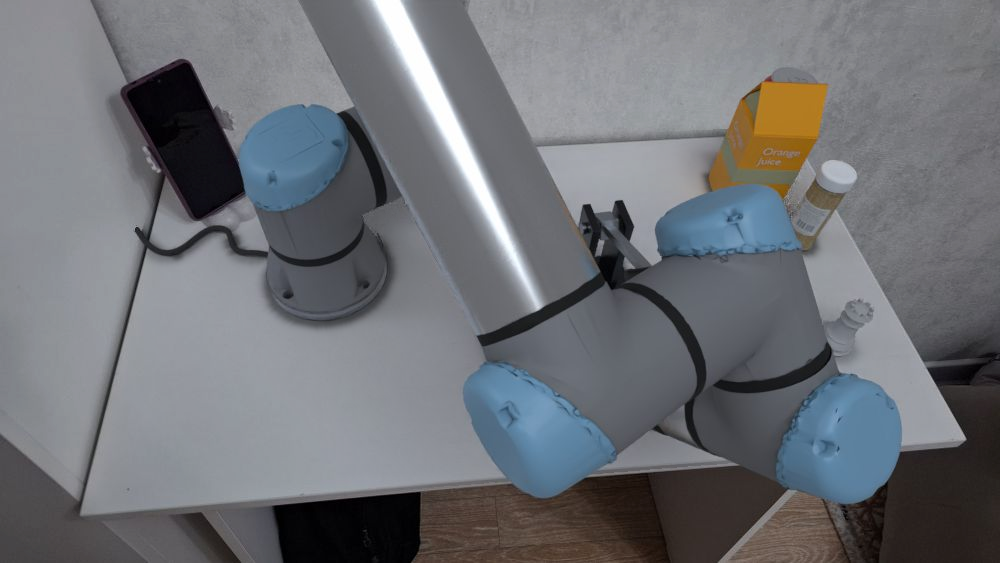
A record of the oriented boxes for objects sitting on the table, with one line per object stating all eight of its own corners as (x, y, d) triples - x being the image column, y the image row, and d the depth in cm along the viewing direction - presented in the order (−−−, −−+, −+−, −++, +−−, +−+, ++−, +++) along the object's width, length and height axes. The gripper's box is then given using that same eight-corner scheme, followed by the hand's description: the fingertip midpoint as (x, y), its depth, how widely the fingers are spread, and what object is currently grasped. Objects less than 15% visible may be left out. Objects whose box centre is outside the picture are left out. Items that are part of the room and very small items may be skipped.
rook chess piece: (812, 350, 78) (842, 315, 72) (814, 323, 80) (844, 286, 74) (848, 363, 77) (882, 328, 71) (850, 335, 80) (883, 299, 73)
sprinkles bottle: (818, 243, 89) (866, 174, 78) (797, 256, 87) (843, 187, 77) (793, 223, 91) (836, 153, 81) (773, 236, 90) (814, 166, 79)
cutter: (635, 305, 81) (660, 235, 70) (561, 316, 80) (576, 246, 69) (616, 258, 86) (637, 186, 75) (546, 268, 84) (558, 195, 73)
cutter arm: (675, 284, 62) (678, 263, 61) (628, 291, 61) (630, 270, 60) (620, 227, 75) (621, 209, 74) (581, 233, 75) (581, 214, 74)
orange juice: (775, 214, 92) (839, 102, 76) (717, 212, 92) (768, 99, 76) (763, 178, 97) (820, 65, 81) (707, 176, 97) (753, 63, 81)
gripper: (611, 493, 46) (488, 417, 67) (774, 378, 53) (615, 341, 74) (577, 407, 45) (462, 356, 66) (750, 299, 51) (595, 285, 72)
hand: (543, 349), depth 70 cm, fingers closed on butter, 5 cm apart
